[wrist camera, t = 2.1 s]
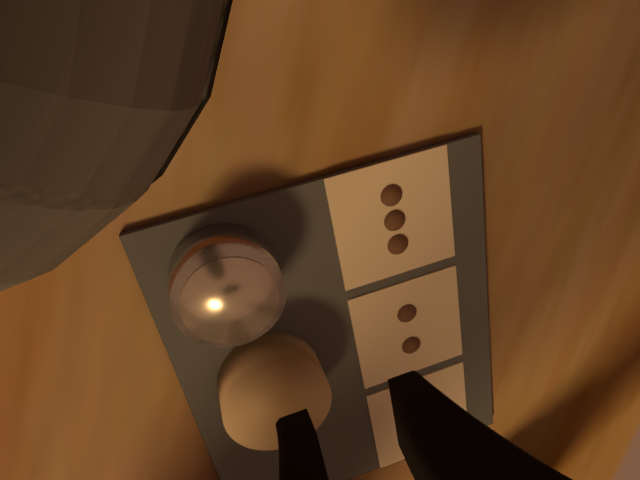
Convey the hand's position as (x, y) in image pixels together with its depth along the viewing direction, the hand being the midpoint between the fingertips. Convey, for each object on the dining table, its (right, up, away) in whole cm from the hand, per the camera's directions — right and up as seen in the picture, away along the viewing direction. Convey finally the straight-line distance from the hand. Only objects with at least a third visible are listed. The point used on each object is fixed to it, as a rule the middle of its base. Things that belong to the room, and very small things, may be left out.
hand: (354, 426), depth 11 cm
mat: (0, -1, +12) cm, 12 cm away
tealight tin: (-4, +3, +8) cm, 10 cm away
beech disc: (-3, -2, +11) cm, 11 cm away
